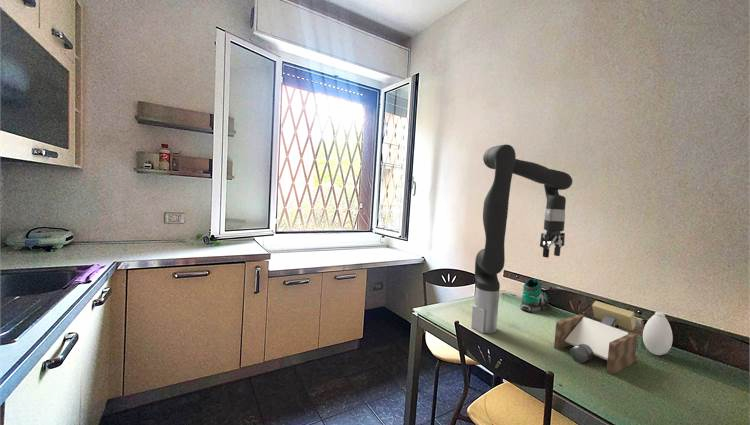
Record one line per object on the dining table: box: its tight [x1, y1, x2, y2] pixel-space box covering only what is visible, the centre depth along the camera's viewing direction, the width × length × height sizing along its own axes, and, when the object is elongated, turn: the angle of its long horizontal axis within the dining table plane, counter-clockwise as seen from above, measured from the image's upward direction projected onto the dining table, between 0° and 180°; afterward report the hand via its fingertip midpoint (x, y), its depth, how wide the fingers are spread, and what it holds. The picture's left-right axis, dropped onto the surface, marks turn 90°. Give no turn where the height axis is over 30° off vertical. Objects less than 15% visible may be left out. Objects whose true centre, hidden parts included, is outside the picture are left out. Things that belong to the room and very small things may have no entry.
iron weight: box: [569, 344, 595, 364], centre depth 101 cm, size 5×5×5 cm
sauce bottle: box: [642, 305, 674, 356], centre depth 107 cm, size 8×8×18 cm
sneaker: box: [520, 278, 549, 314], centre depth 149 cm, size 9×24×15 cm, turn 128°
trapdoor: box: [565, 300, 637, 361], centre depth 107 cm, size 22×14×6 cm, turn 119°
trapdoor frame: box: [553, 313, 639, 376], centre depth 105 cm, size 19×18×10 cm
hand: (551, 256), depth 128 cm, fingers open, 8 cm apart
